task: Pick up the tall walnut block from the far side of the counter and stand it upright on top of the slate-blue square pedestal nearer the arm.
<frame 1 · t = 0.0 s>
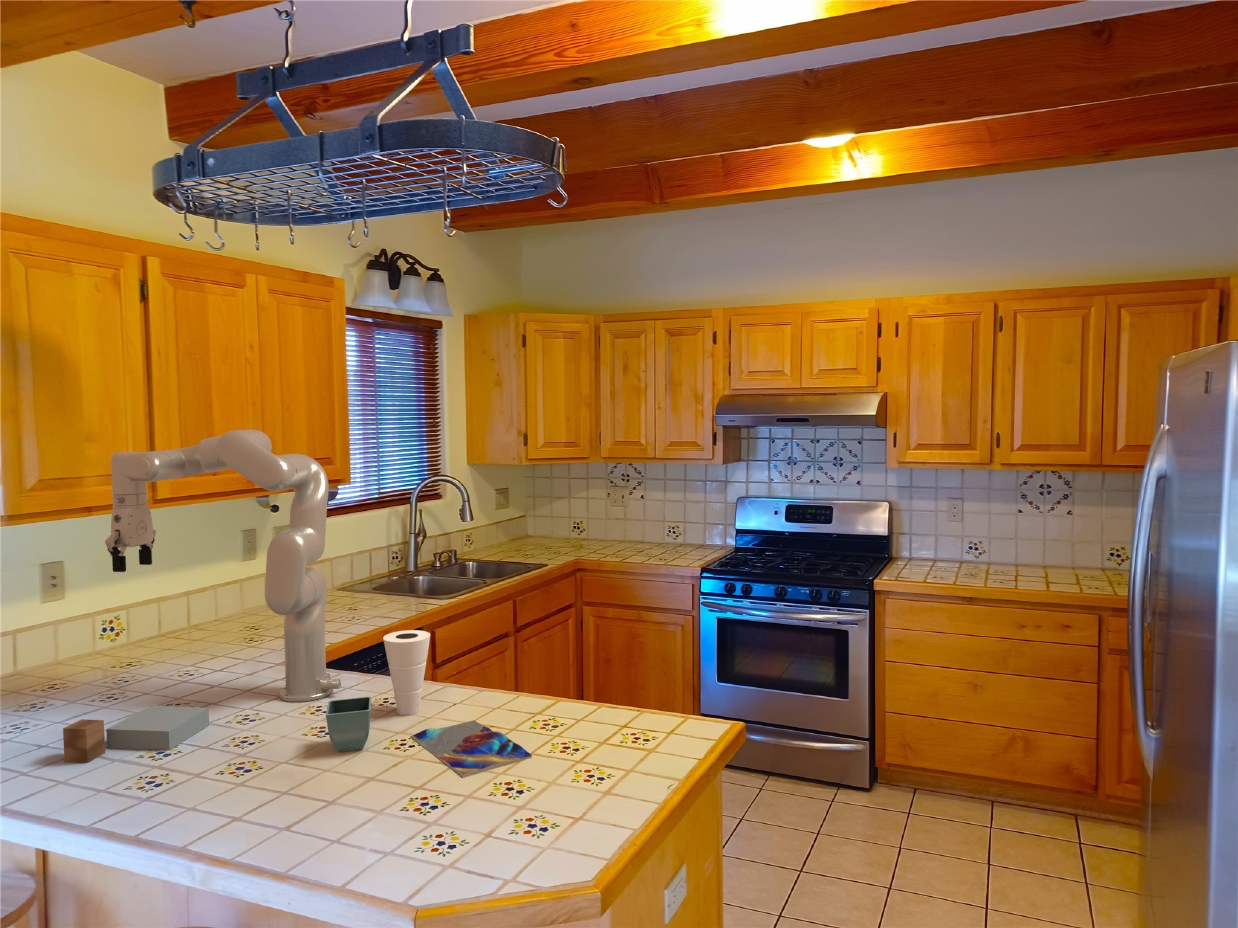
hand: (132, 568, 211), 31 cm above the counter, tool pointing down, fingers open, 9 cm apart
flower pot: (350, 747, 175), on the counter
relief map: (469, 751, 175), on the counter
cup: (408, 712, 196), on the counter
pedestal: (159, 735, 182), on the counter
walnut block: (85, 757, 171), on the counter
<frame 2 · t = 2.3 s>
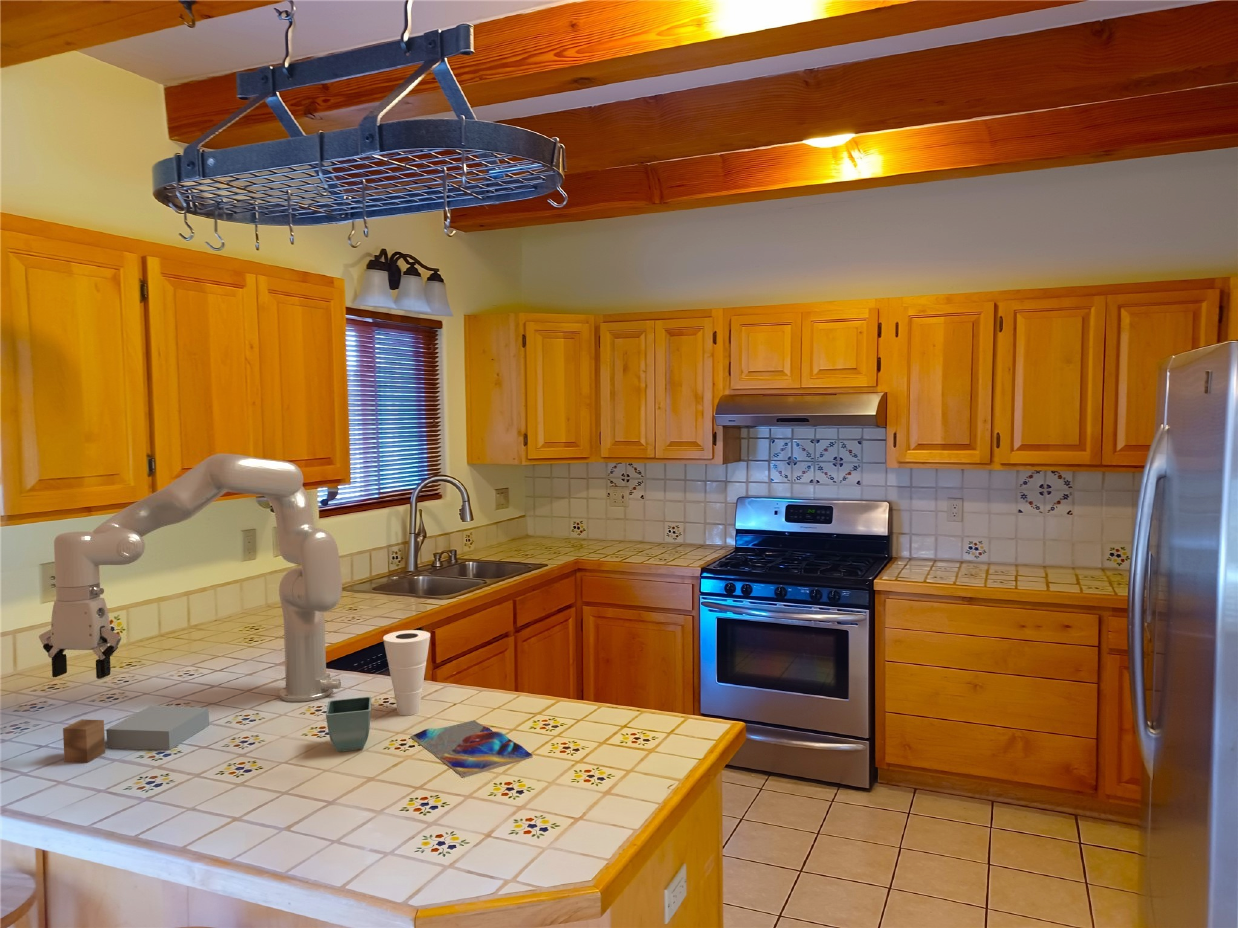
hand: (81, 676, 170), 17 cm above the counter, tool pointing down, fingers open, 9 cm apart
nothing on the counter moved.
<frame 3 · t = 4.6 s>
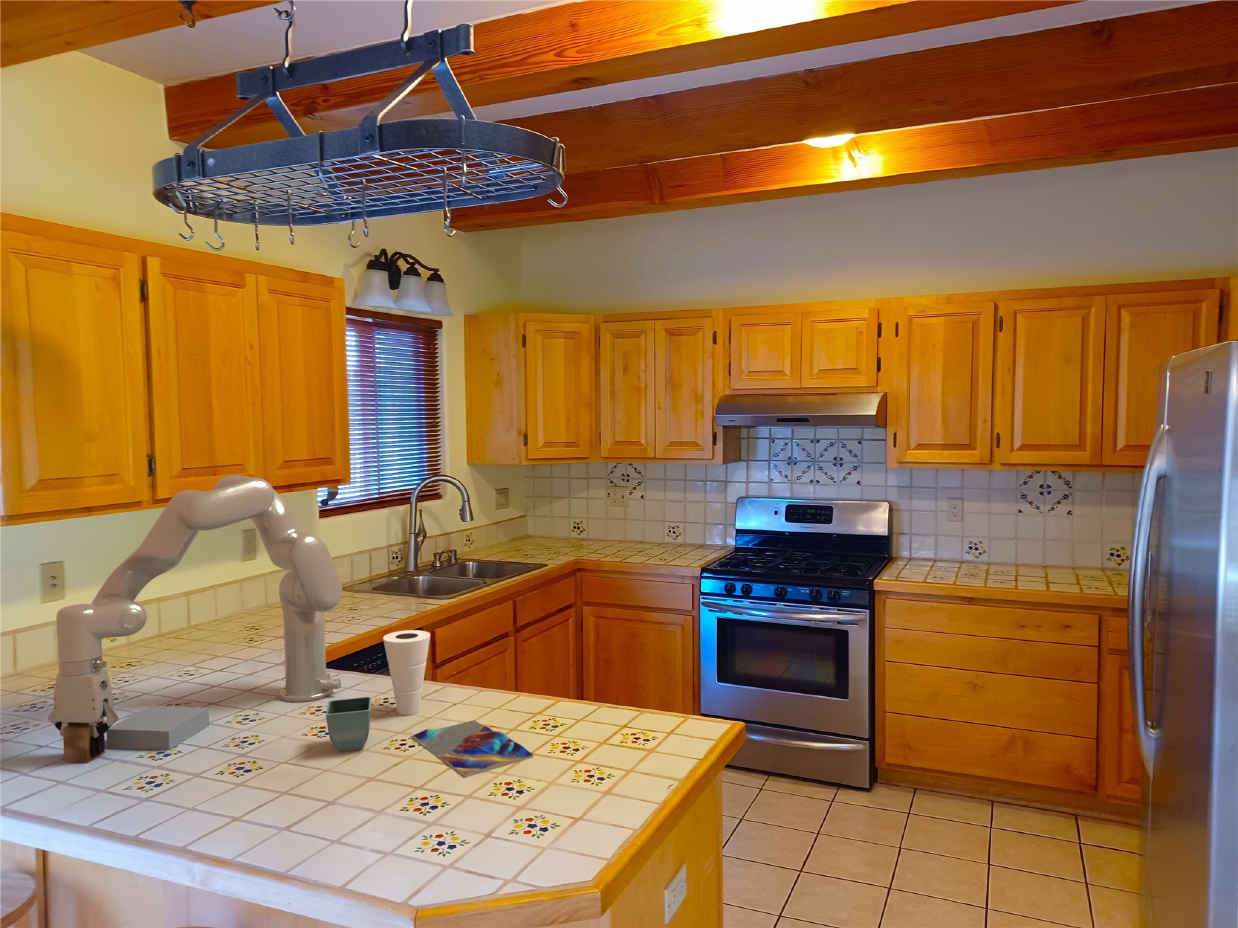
hand: (84, 752, 170), 1 cm above the counter, tool pointing down, fingers closed on walnut block, 5 cm apart
walnut block: (85, 757, 171), on the counter, touching gripper
everything else where it was.
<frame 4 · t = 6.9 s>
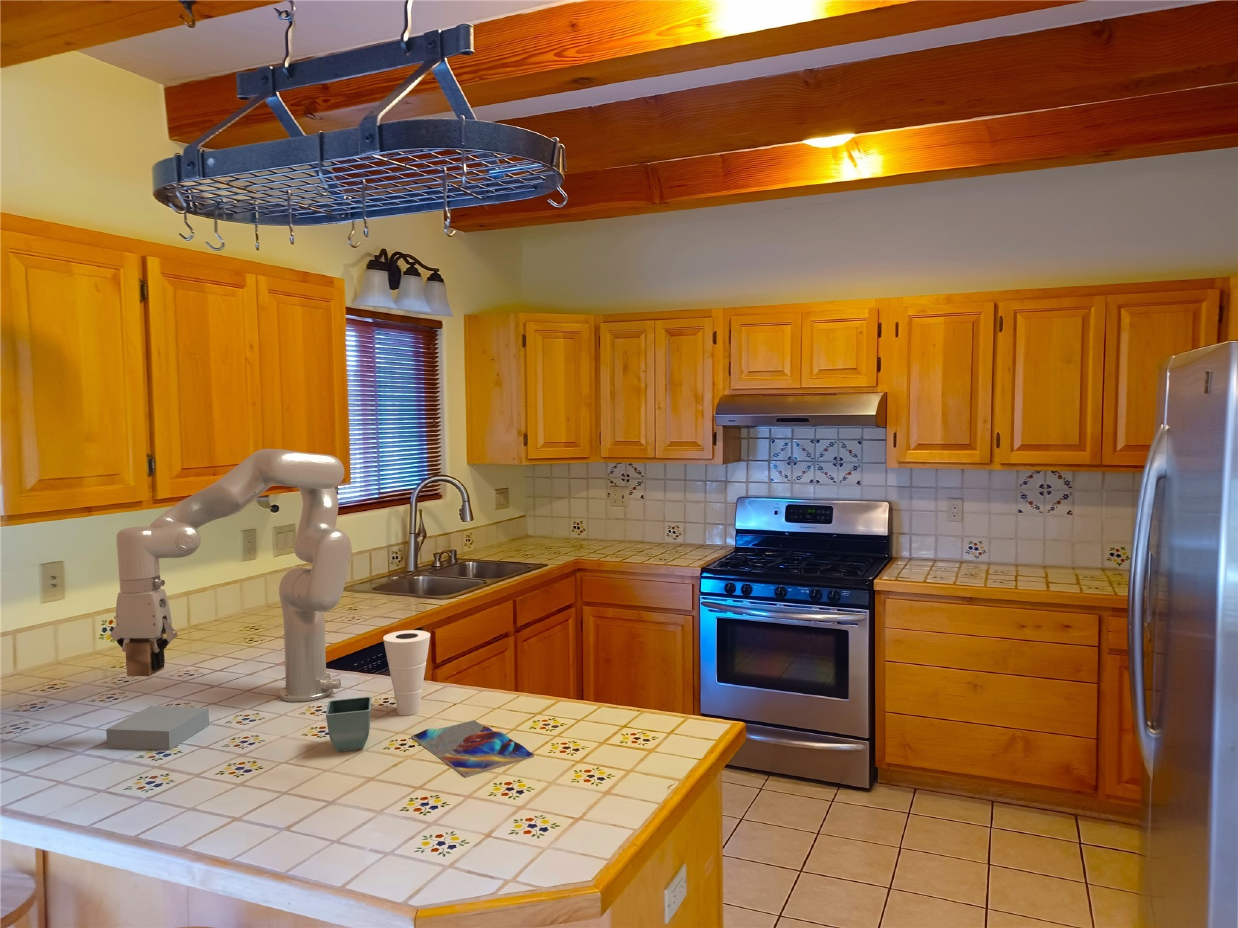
hand: (145, 667, 179), 16 cm above the counter, tool pointing down, fingers closed on walnut block, 5 cm apart
walnut block: (145, 672, 179), point 15 cm above the counter, touching gripper
everything else where it was.
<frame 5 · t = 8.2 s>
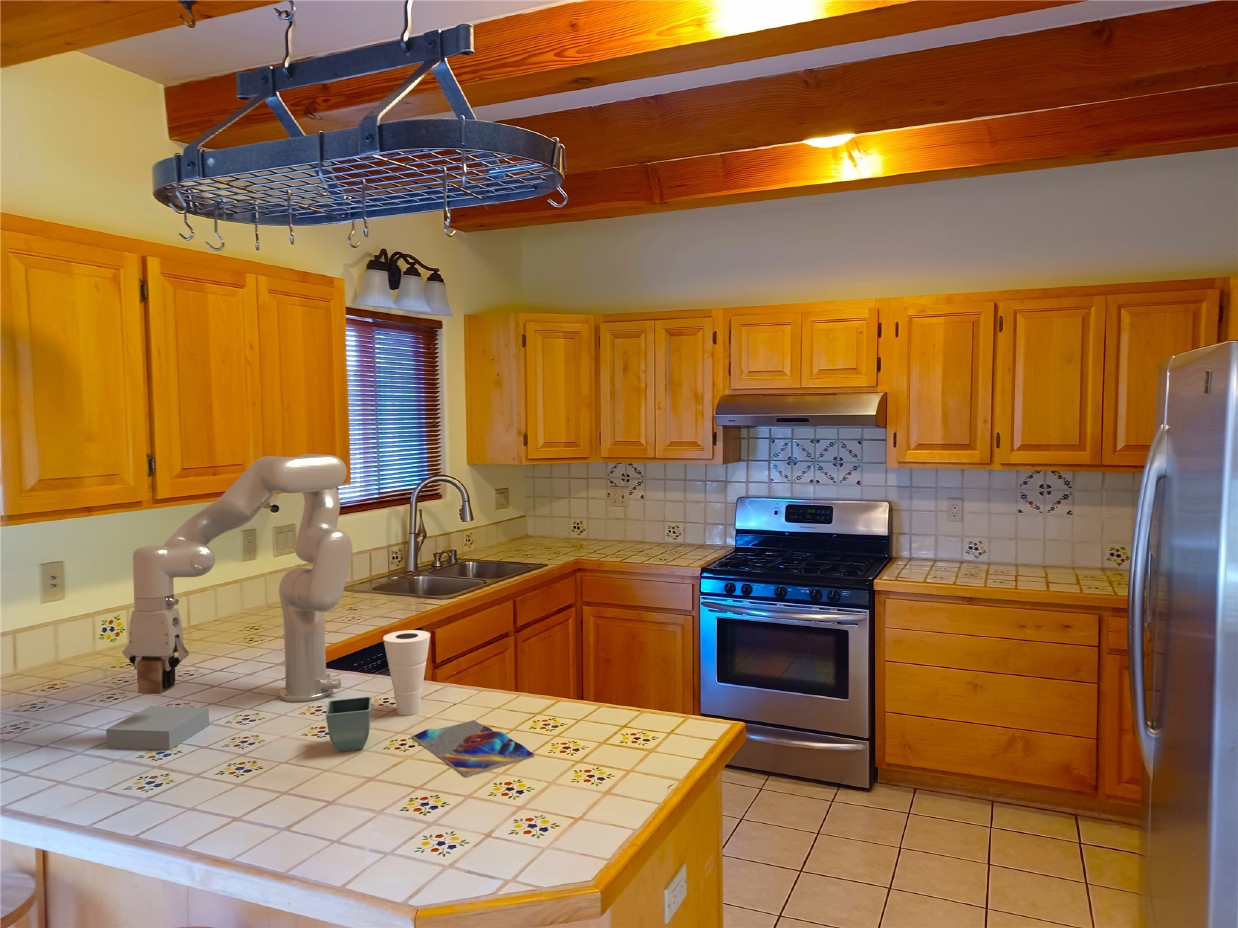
hand: (156, 685, 181), 11 cm above the counter, tool pointing down, fingers closed on walnut block, 5 cm apart
walnut block: (156, 690, 181), point 10 cm above the counter, touching gripper
everything else where it was.
when the fingers open (6 cm above the counter, at t = 9.4 s): walnut block drops 1 cm, resting on pedestal.
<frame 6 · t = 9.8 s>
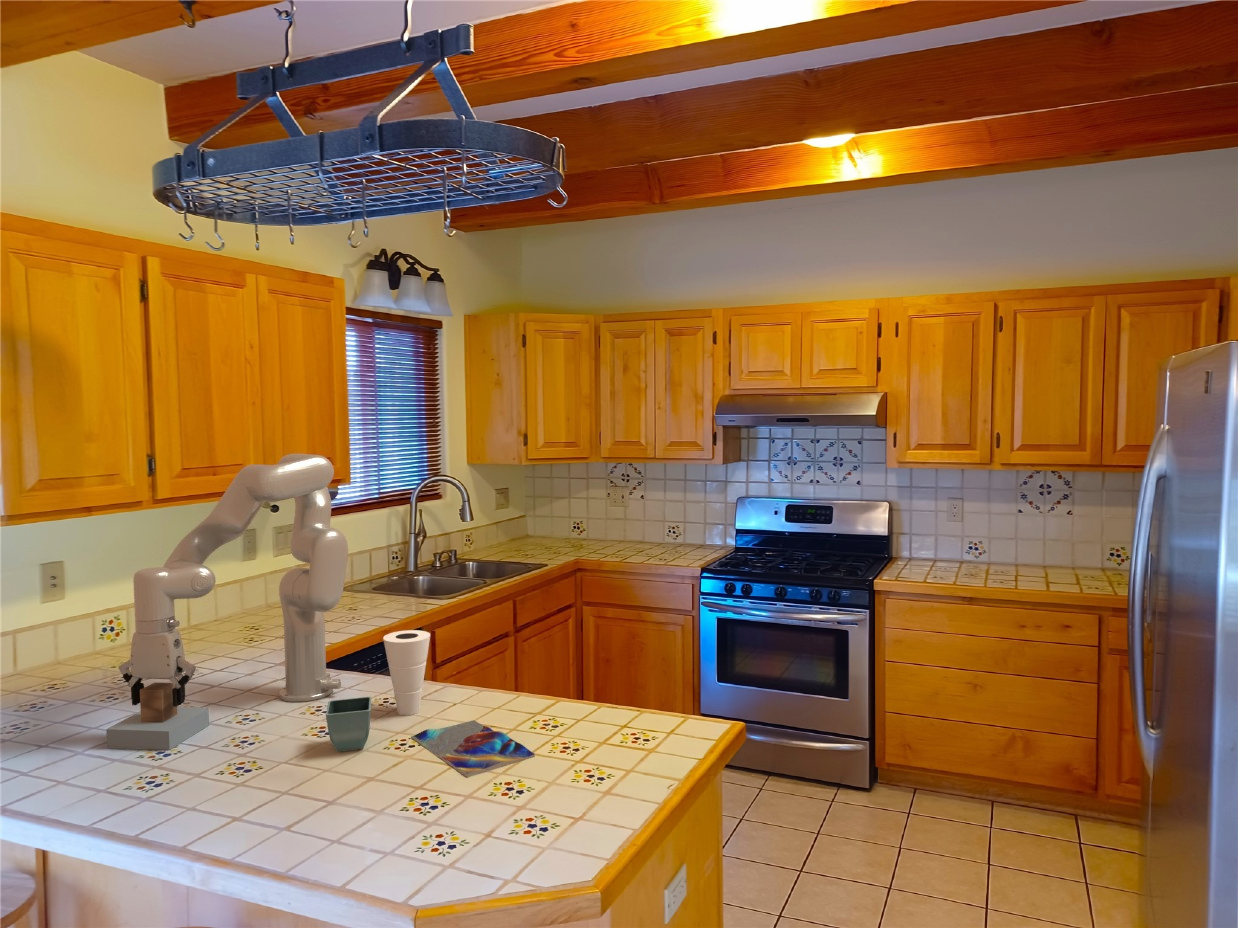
hand: (158, 703, 181), 7 cm above the counter, tool pointing down, fingers open, 9 cm apart
walnut block: (159, 717, 181), point 4 cm above the counter, touching pedestal
everything else where it was.
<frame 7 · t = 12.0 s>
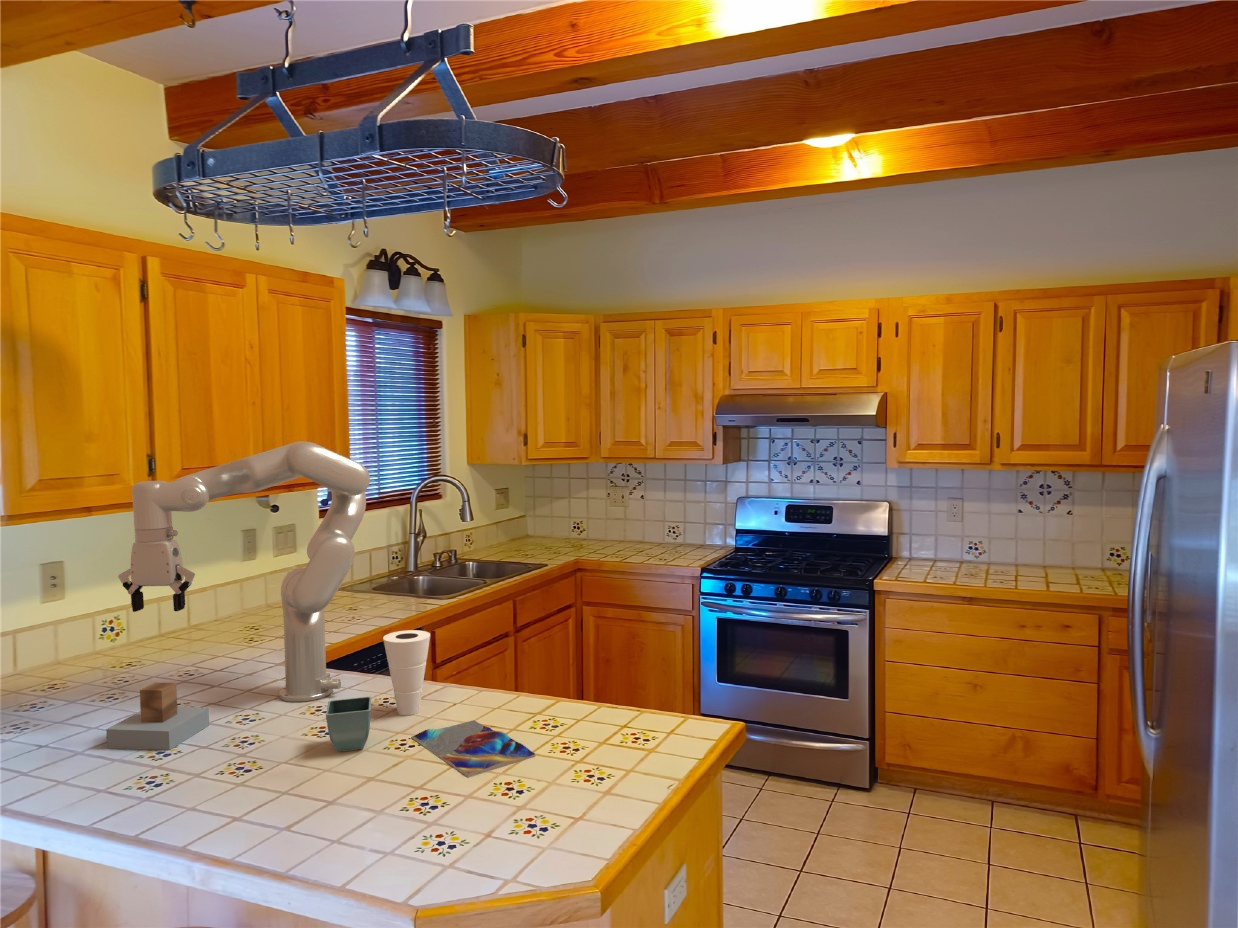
hand: (158, 610, 190), 25 cm above the counter, tool pointing down, fingers open, 9 cm apart
nothing on the counter moved.
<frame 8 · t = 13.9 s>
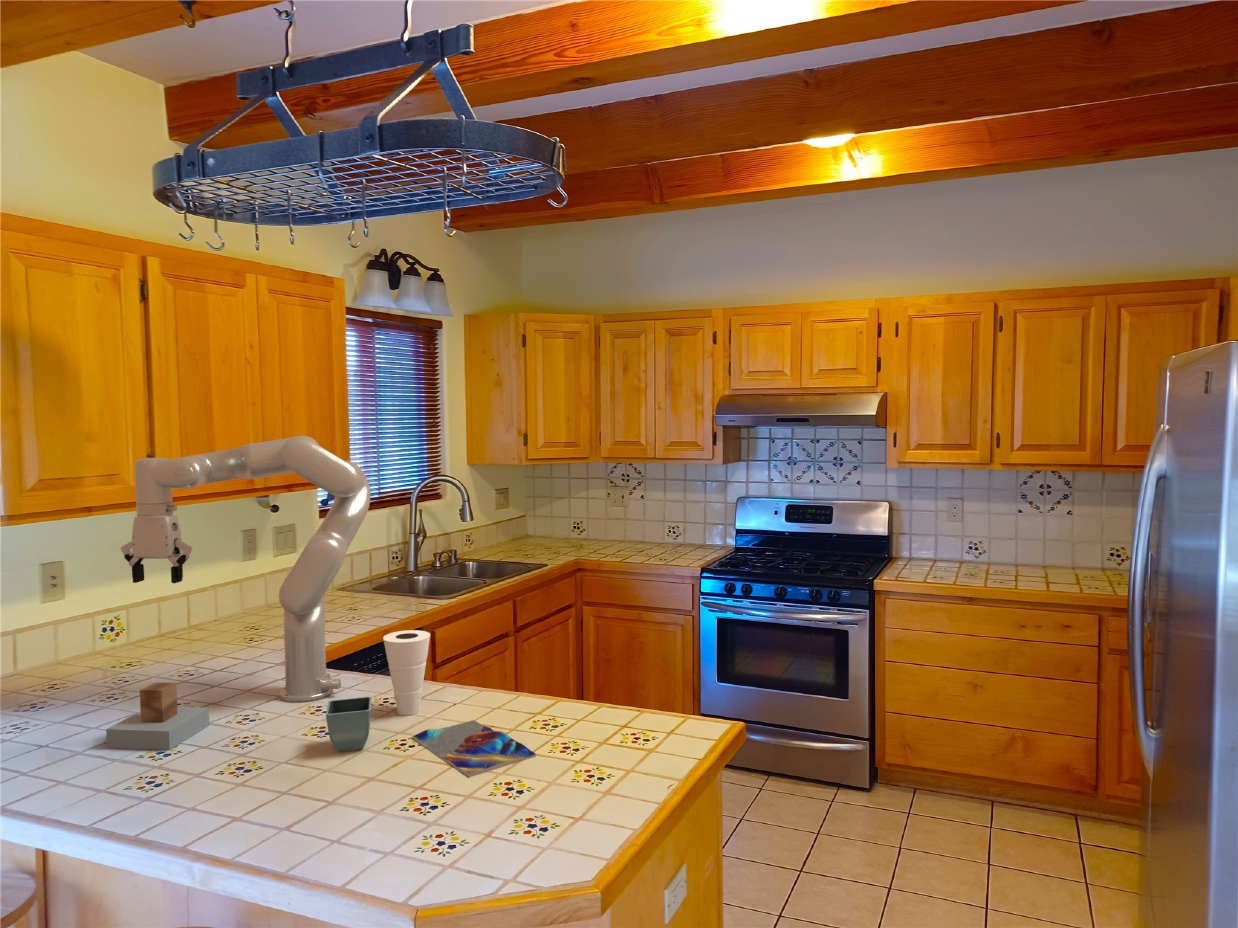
hand: (157, 581, 198), 30 cm above the counter, tool pointing down, fingers open, 9 cm apart
nothing on the counter moved.
at the end: walnut block inside the target area on the pedestal (0.0 cm from its centre), point 4.0 cm above the pedestal's base; walnut block tilted 0°; the gripper is holding nothing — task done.
